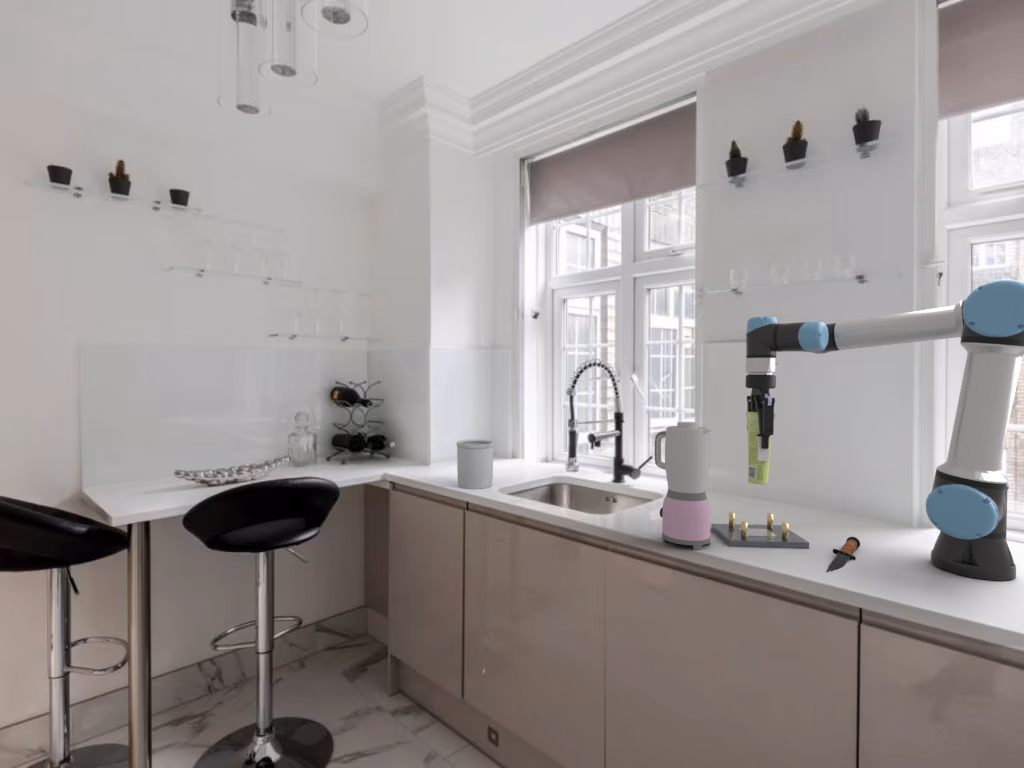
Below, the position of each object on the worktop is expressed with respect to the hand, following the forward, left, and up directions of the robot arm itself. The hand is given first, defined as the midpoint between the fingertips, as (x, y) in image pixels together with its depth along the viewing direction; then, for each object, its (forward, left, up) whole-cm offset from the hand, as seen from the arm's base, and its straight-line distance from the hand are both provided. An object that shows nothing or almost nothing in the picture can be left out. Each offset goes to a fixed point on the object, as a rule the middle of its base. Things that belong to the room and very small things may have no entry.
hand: (759, 458), depth 148 cm
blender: (-5, +22, -22) cm, 32 cm away
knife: (-16, -14, -22) cm, 31 cm away
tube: (0, 0, -7) cm, 7 cm away
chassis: (0, 0, -22) cm, 22 cm away
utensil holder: (+61, +86, -22) cm, 108 cm away
